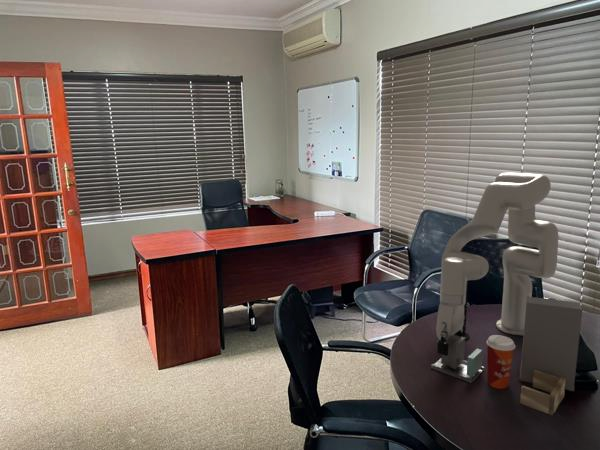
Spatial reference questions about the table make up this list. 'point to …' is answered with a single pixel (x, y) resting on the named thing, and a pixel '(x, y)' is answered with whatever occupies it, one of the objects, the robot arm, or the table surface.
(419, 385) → the table surface
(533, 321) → the cassette tape recorder
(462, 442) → the table surface
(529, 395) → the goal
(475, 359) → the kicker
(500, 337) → the paper cup
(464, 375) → the track
